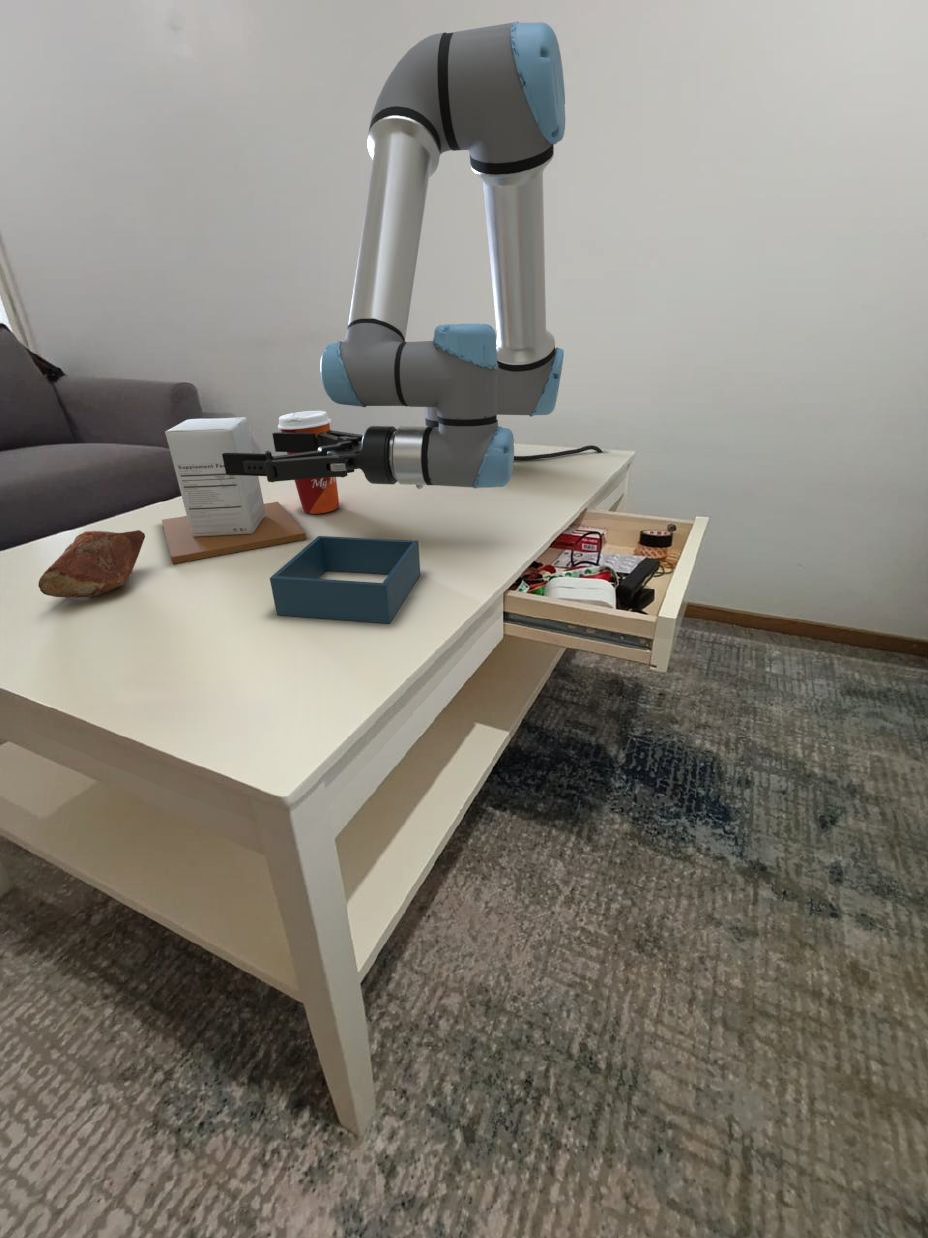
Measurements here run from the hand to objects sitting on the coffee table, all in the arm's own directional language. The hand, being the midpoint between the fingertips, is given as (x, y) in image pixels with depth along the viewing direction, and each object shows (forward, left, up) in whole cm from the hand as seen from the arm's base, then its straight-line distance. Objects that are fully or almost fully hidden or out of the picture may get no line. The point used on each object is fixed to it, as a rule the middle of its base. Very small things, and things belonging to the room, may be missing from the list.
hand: (251, 452), depth 82 cm
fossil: (+22, +10, -12) cm, 26 cm away
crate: (-4, +27, -12) cm, 30 cm away
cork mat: (+5, -3, -12) cm, 13 cm away
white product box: (+5, -3, -11) cm, 13 cm away
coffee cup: (-10, -7, -12) cm, 18 cm away
